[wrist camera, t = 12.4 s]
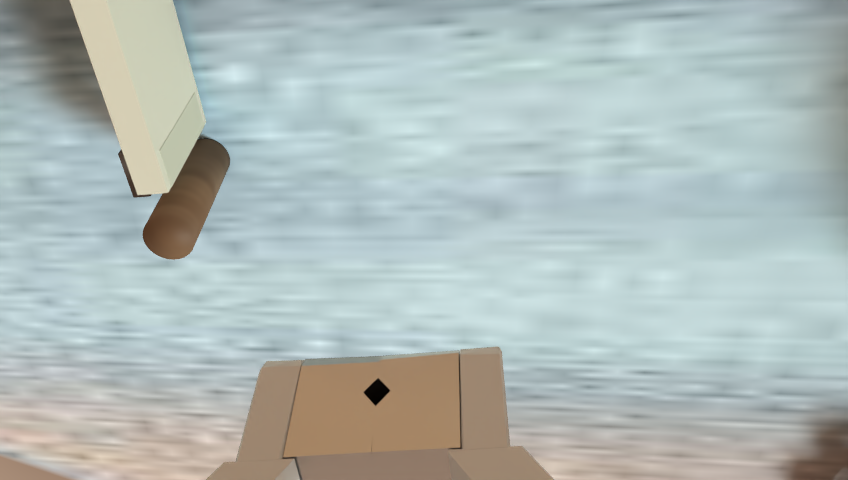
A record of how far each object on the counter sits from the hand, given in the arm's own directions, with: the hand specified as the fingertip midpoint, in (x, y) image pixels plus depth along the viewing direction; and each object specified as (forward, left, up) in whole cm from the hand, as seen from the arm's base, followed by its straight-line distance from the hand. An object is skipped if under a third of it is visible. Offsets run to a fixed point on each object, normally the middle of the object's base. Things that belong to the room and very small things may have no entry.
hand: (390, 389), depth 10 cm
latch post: (+8, -11, -25) cm, 29 cm away
